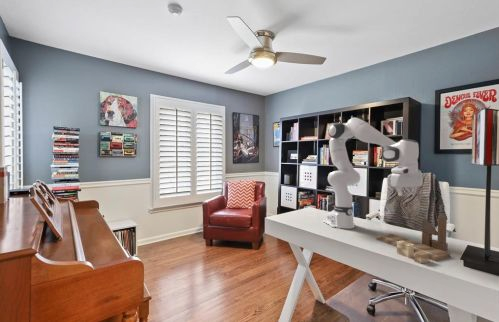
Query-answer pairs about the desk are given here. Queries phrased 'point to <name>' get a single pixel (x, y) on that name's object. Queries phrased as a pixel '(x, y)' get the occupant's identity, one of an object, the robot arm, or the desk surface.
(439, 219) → the brown wooden upright frame
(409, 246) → the gauge block
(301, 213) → the desk surface
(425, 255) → the stop block
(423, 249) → the board
